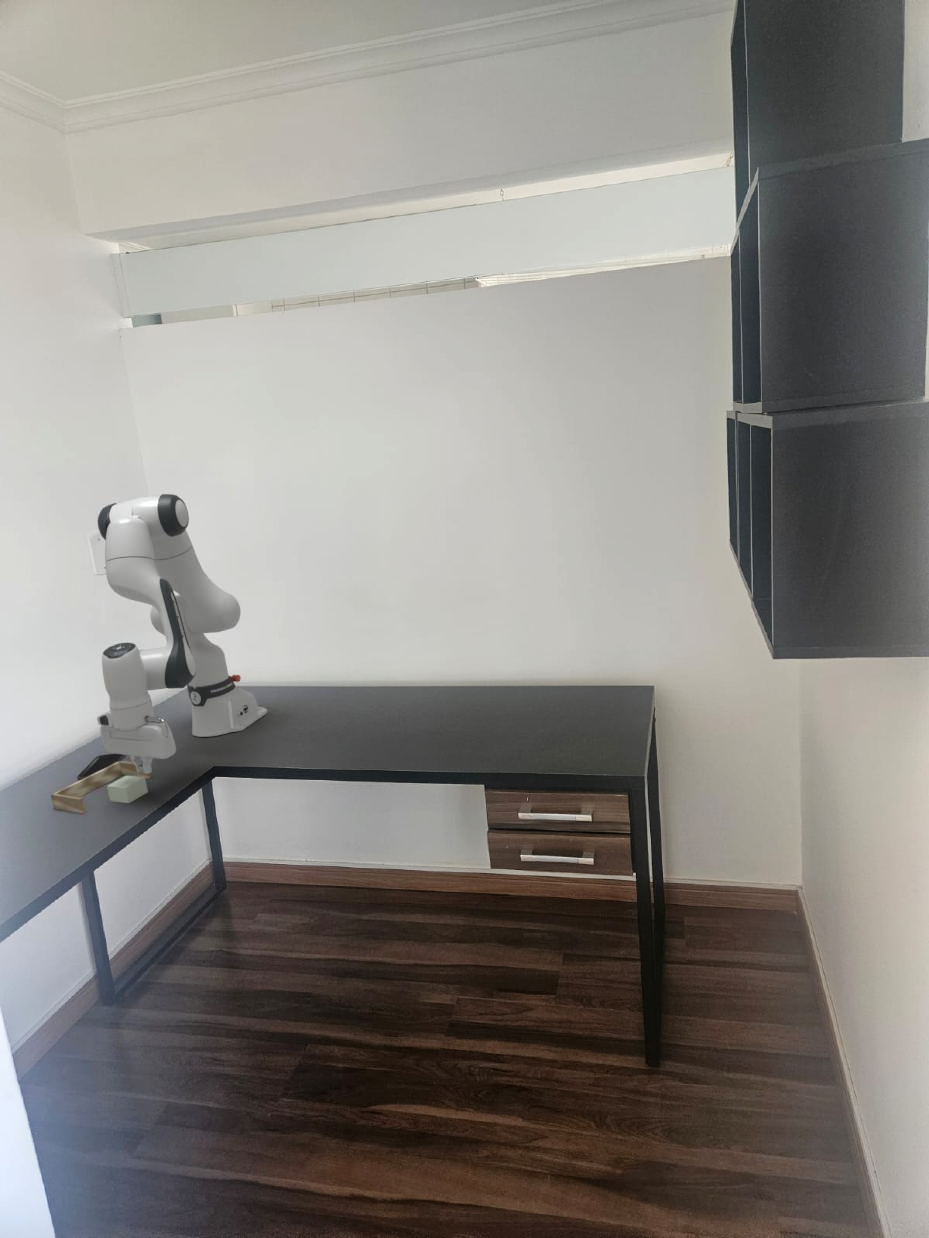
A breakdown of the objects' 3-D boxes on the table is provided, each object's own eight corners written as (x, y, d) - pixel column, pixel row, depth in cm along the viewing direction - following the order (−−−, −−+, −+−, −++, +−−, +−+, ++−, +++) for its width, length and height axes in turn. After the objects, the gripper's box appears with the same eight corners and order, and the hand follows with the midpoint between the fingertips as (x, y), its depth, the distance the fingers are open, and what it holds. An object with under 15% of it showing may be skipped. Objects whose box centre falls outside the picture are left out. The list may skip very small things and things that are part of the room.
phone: (75, 777, 218) (97, 755, 233) (76, 782, 218) (98, 759, 233) (106, 773, 218) (126, 751, 233) (107, 778, 218) (127, 755, 233)
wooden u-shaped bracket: (122, 773, 219) (119, 760, 218) (151, 777, 214) (148, 764, 213) (54, 808, 202) (50, 794, 201) (83, 813, 197) (79, 799, 196)
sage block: (129, 790, 208) (126, 775, 207) (148, 792, 205) (144, 777, 204) (110, 801, 203) (106, 786, 202) (129, 803, 200) (125, 788, 199)
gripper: (176, 713, 193) (187, 771, 195) (114, 708, 203) (126, 763, 205) (154, 722, 187) (166, 782, 190) (91, 717, 197) (104, 774, 200)
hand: (144, 772), depth 198 cm, fingers closed
